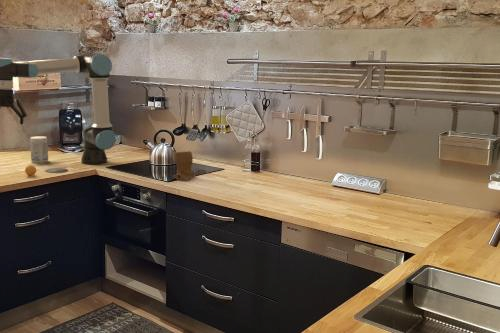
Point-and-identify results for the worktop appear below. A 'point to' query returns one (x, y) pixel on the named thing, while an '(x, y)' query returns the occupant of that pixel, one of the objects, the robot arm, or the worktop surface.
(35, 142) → the supplement tub
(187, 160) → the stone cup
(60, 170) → the disc
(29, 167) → the ball
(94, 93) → the robot arm
